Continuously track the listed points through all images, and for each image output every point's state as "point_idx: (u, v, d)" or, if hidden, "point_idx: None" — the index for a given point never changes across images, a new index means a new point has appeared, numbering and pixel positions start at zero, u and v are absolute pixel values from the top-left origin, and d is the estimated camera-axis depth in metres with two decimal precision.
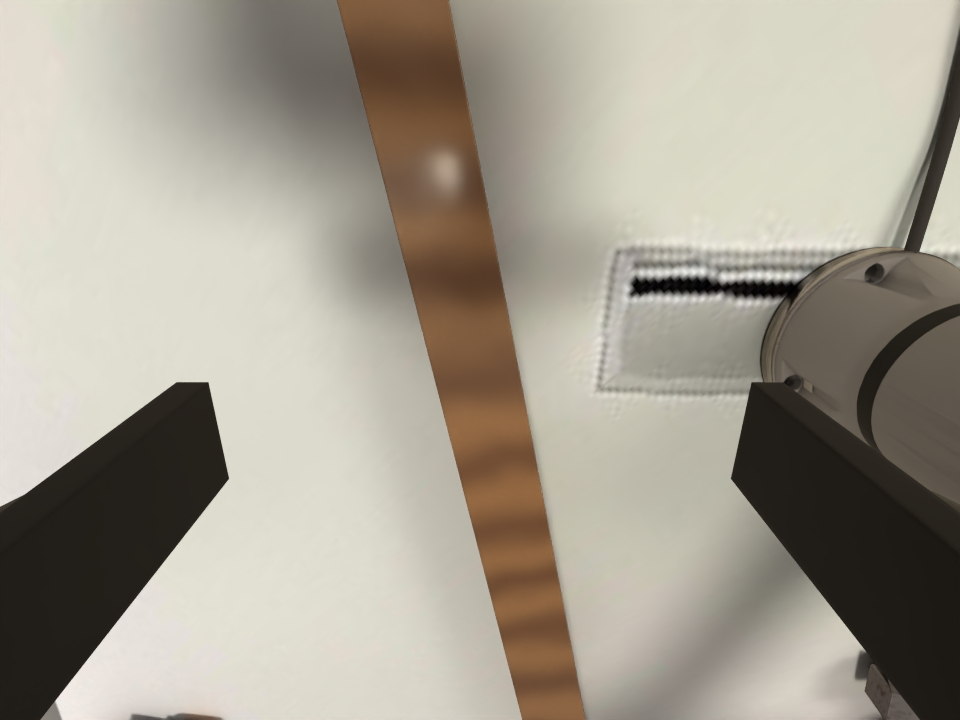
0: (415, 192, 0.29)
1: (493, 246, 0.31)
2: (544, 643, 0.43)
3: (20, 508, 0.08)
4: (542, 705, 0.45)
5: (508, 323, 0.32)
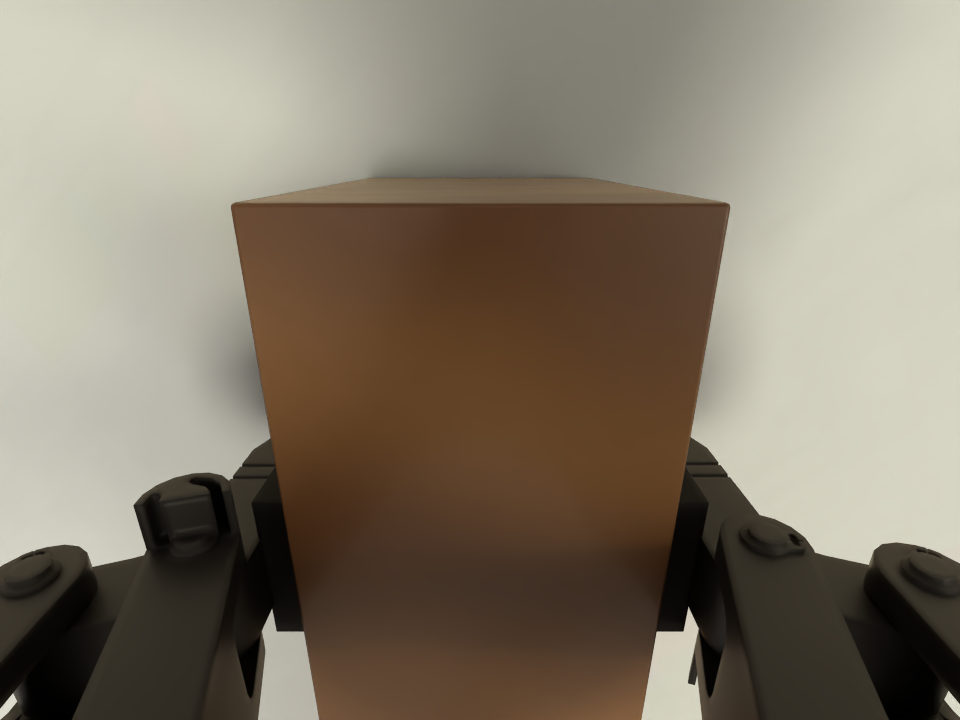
0: None
1: None
2: None
3: None
4: None
5: None
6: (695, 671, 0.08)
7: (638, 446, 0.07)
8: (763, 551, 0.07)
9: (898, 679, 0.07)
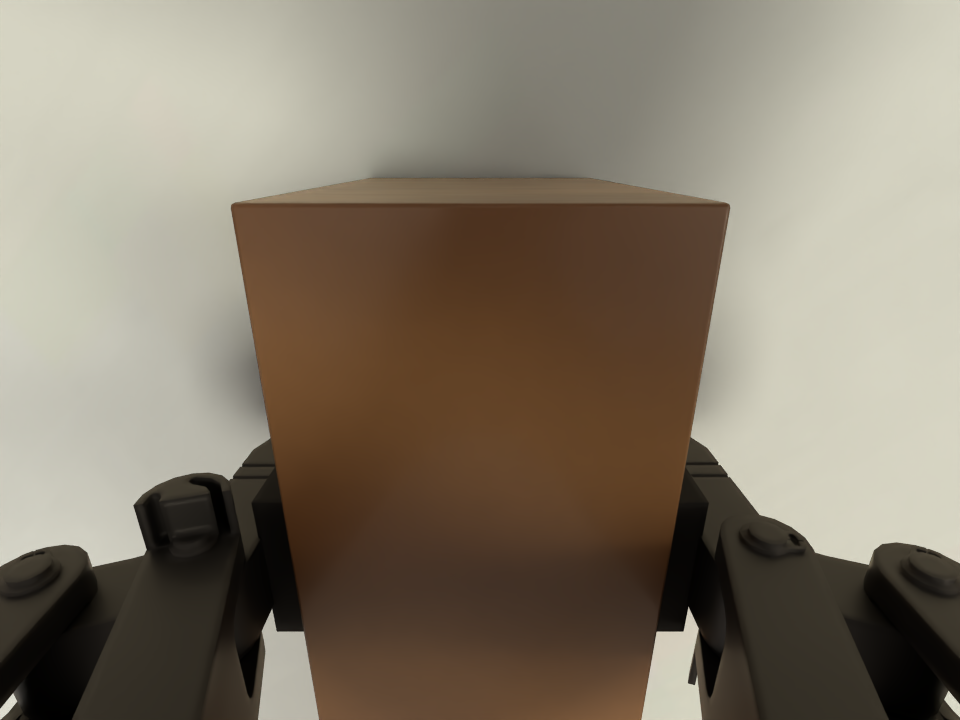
0: None
1: None
2: None
3: None
4: None
5: None
6: (695, 671, 0.08)
7: (638, 446, 0.07)
8: (762, 551, 0.07)
9: (898, 679, 0.07)
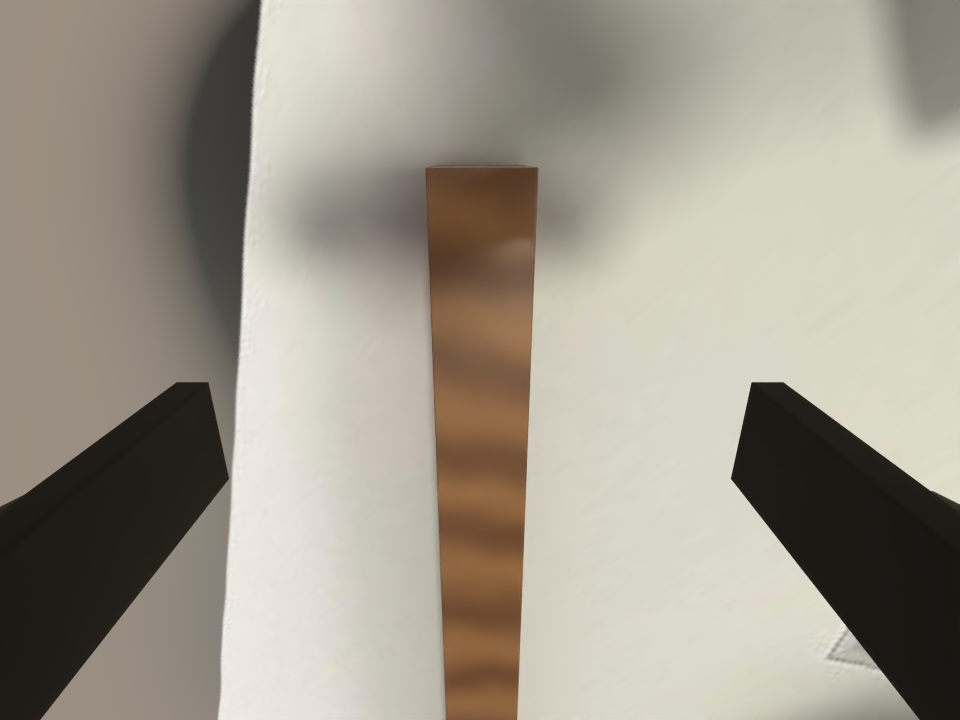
0: (463, 462, 0.31)
1: (523, 515, 0.33)
2: None
3: (20, 508, 0.08)
4: None
5: (521, 574, 0.35)
6: None
7: (522, 231, 0.26)
8: None
9: None
